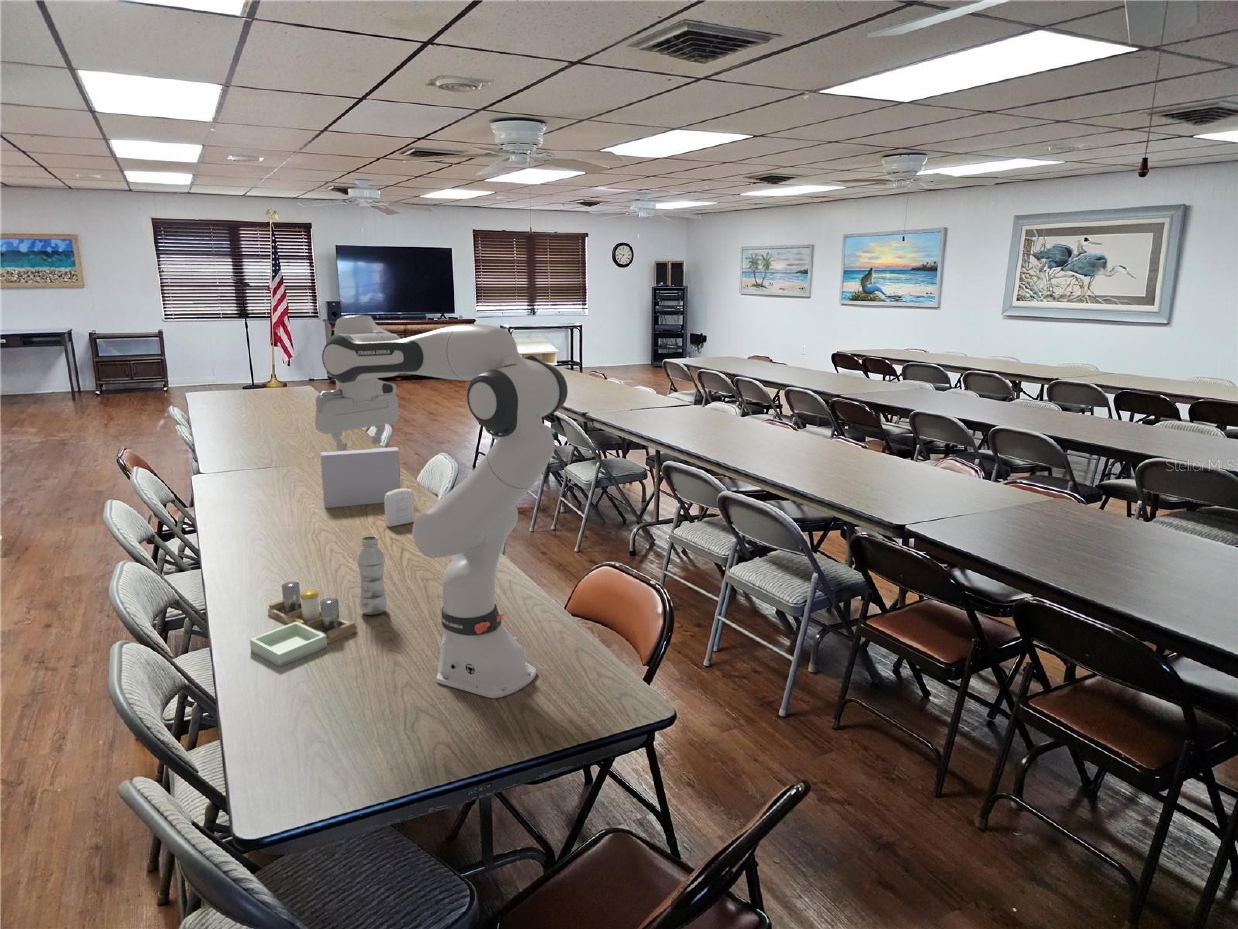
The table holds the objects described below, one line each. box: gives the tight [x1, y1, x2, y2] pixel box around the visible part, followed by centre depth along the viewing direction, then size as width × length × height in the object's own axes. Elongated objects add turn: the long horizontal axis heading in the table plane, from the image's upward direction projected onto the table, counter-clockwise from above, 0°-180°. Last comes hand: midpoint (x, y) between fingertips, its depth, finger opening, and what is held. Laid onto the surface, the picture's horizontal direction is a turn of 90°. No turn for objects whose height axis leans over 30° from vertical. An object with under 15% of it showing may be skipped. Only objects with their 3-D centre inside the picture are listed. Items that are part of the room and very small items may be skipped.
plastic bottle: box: [356, 535, 388, 616], centre depth 190 cm, size 6×7×20 cm
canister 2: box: [319, 597, 340, 634], centre depth 181 cm, size 4×4×8 cm
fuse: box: [300, 588, 321, 625], centre depth 185 cm, size 4×4×8 cm
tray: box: [249, 622, 328, 668], centre depth 173 cm, size 12×12×3 cm
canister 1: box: [281, 581, 301, 616], centre depth 190 cm, size 4×4×8 cm
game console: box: [319, 446, 402, 509], centre depth 281 cm, size 6×27×20 cm, turn 115°
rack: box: [267, 599, 358, 644], centre depth 186 cm, size 25×8×2 cm, turn 55°
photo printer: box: [383, 487, 416, 528], centre depth 259 cm, size 10×4×12 cm, turn 134°
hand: (359, 446), depth 174 cm, fingers open, 8 cm apart
